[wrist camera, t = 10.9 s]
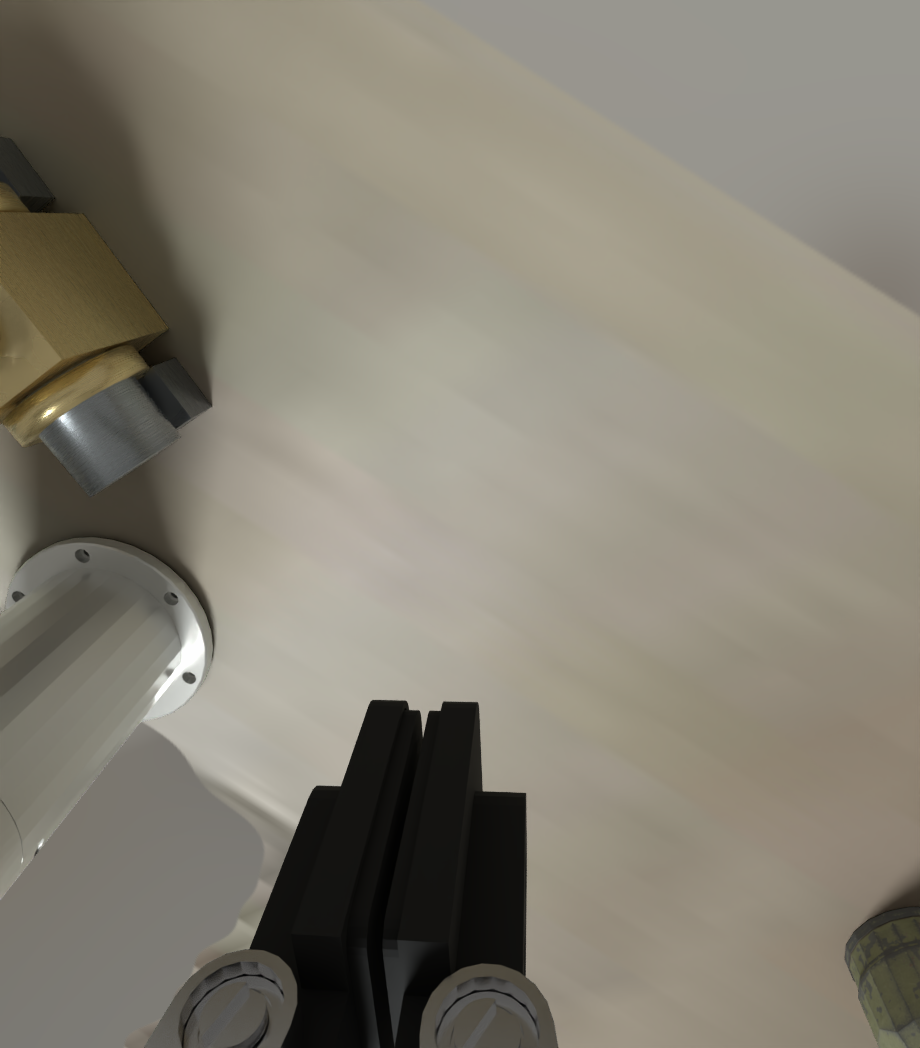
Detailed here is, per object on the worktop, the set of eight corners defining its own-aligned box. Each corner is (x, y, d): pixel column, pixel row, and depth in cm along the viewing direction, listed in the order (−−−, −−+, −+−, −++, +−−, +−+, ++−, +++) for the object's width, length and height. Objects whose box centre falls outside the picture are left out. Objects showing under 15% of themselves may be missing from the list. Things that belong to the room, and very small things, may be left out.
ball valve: (141, 467, 39) (37, 531, 31) (-75, 201, 35) (-262, 195, 27) (229, 406, 38) (143, 457, 29) (14, 117, 33) (-159, 82, 25)
